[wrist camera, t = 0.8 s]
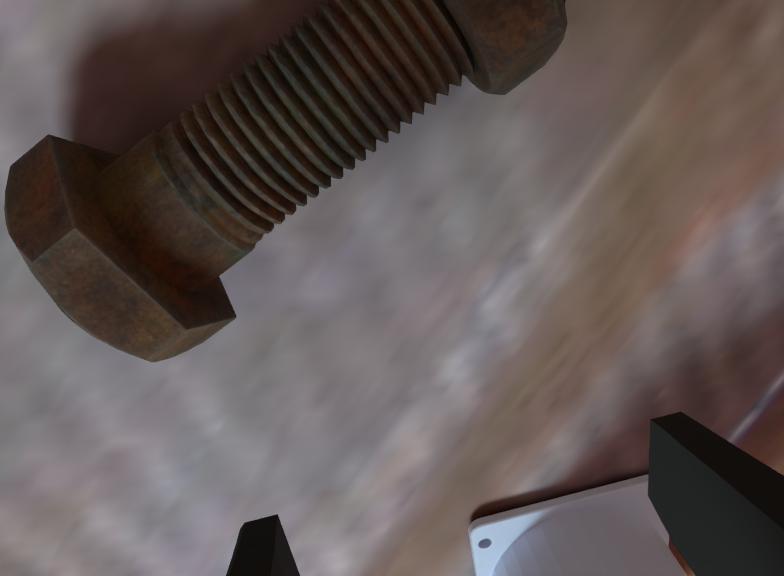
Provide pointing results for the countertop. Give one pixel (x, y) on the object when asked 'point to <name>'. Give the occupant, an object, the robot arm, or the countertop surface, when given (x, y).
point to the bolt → (249, 160)
